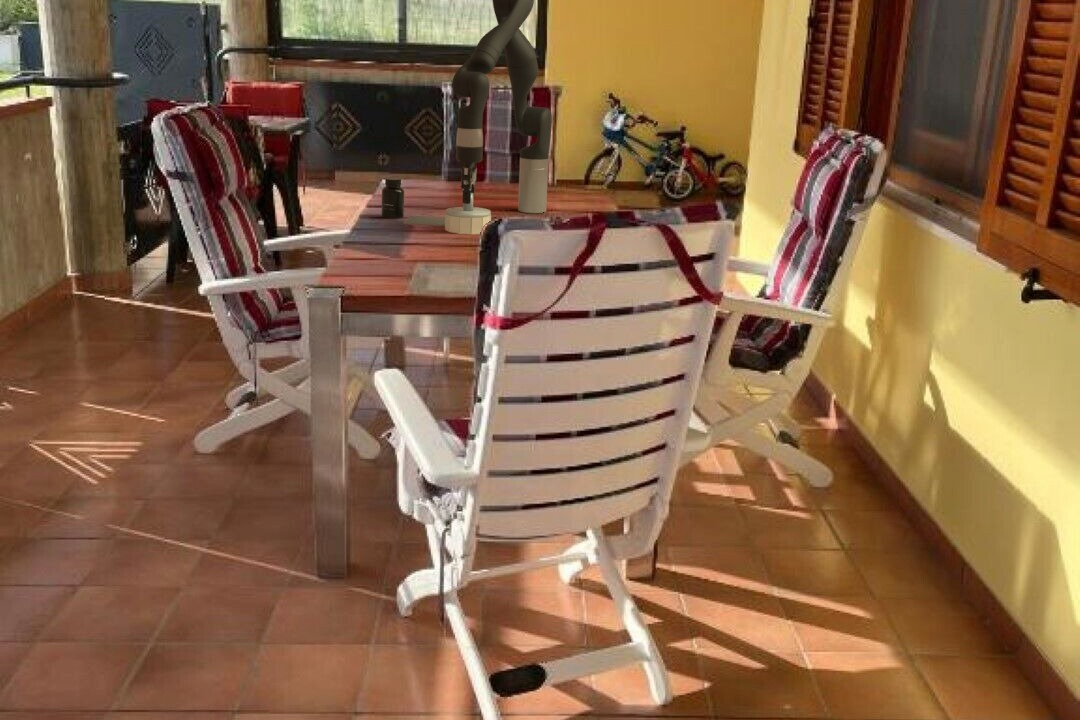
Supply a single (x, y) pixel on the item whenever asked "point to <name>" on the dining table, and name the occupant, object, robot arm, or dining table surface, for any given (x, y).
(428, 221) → the mat
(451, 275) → the dining table surface
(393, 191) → the supplement bottle
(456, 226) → the bowl
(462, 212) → the lid
